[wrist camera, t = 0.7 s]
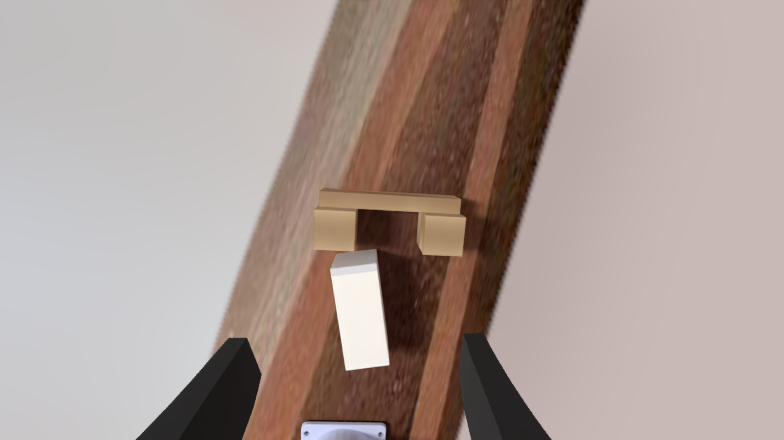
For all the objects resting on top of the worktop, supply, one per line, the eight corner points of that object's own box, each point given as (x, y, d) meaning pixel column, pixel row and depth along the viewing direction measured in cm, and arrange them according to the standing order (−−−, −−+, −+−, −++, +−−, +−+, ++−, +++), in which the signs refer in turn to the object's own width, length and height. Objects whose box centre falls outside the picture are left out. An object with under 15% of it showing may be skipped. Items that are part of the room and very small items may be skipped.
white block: (387, 338, 31) (389, 364, 27) (349, 343, 31) (346, 370, 27) (376, 248, 29) (376, 263, 25) (336, 253, 29) (330, 268, 25)
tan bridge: (450, 243, 29) (462, 256, 25) (321, 236, 29) (313, 249, 25) (454, 195, 28) (467, 201, 25) (323, 188, 28) (314, 193, 24)
